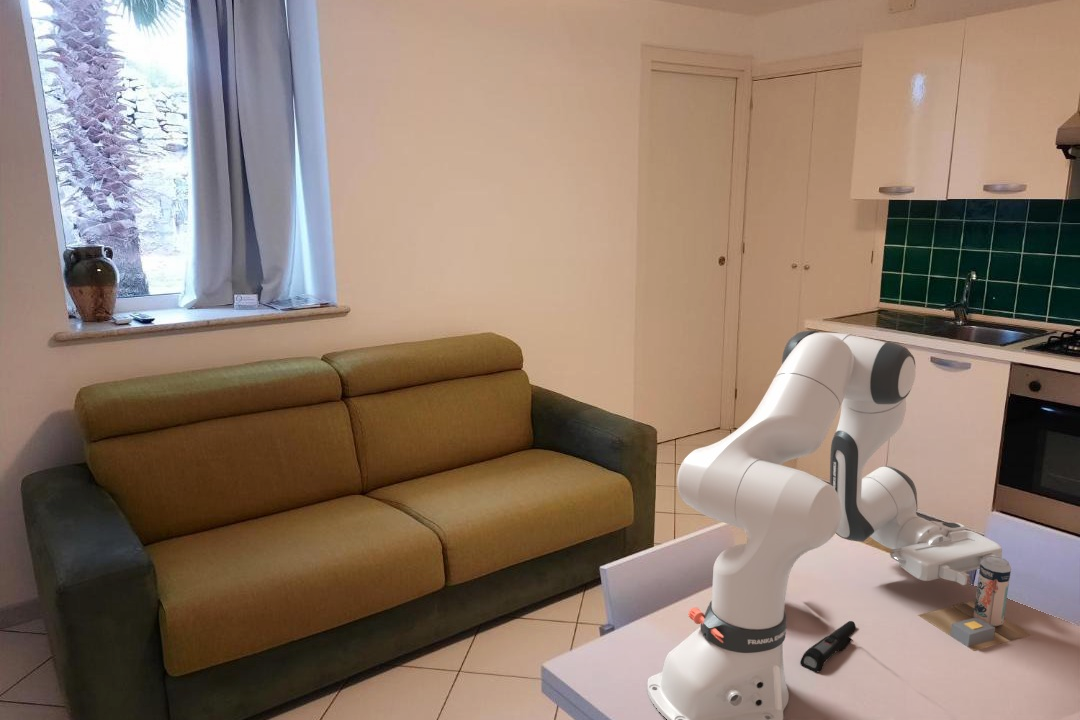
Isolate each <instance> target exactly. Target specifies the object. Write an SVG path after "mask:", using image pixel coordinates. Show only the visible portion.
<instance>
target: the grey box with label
mask: <svg viewBox="0 0 1080 720" xmlns="http://www.w3.org/2000/svg"><path fill="white" fill-rule="evenodd" d="M994 633H995V627H993V626H991V625H990V624H988V623H986V622H985V621H983V620H981V619H980V618H978V617H976V618H972V619H968V620H964V621H960V622H956V623H953V624H952V627H951V635H950V636H949V637H951V638H953V639H954V638H955V640H956V641H957V640H958V641H957V642H959V643H960V642H961V645H963V646H965V645H966V646H965V647H967V648H968V647H970V646H973V645H977V644H981V643H984V642H988V641H991V640H994Z"/></svg>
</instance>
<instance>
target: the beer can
mask: <svg viewBox="0 0 1080 720" xmlns="http://www.w3.org/2000/svg"><path fill="white" fill-rule="evenodd" d="M978 570H979V572H978V580H977V586H976V594H975V607H974V614H973V616H974V618H976V617H978V618H980V619H981V620H983V621H985V622H986V623H988V624H990V625H991V626H999V625H1002V624H1003V623H1004V619H1005V615H1006V614H1005V613H1006V606H1007V599H1008V593H1009V586H1010V579H1011V578H1010V577H1011V571H1012V567H1011V565H1010V562H1009V561H1008V560H1007V559H1006V558H1003V557H1002V558H1000V557H997V556H985V558H984V559H983V560H982V561H981V562H980V569H978Z"/></svg>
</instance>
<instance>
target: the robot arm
mask: <svg viewBox="0 0 1080 720" xmlns="http://www.w3.org/2000/svg"><path fill="white" fill-rule="evenodd" d="M783 349H784V350H783V354H782V356H781V357H782V359H781V366H780V368H779V369H778V370H777V372H776V374H775V376H774V377H773V379H772V382H771V383H770V385H769V387H768V389H767V390H766V392H765V394H764V396H762V397H763V398H762V399H761V400H760V403H759V404H758V406H757V407H756V408H755V410H754V412H753V413H752V414H751V415H750V417H749V418H748V419H747V420H746V421H745V422H744V423H743V424H742V425H741V426H740V427H738V428H737V429H736V430H734V431H733V432H732V433H730V434H729V435H727V436H726V437H725V438H724V437H723V438H722V439H721V440H719V441H717V442H715V443H712V444H710V445H707V446H706V445H705V446H703V447H699V448H696V449H694V450H692V451H691V452H690V453H688V455H686V457H685V458H684V459H683V460H682V462H681V464H680V466H679V468H678V471H677V477H676V478H677V479H676V486H677V491H678V495H679V498H680V499H681V501H682V502H683V503H684V504H686V505H687V506H689V507H690V508H692V509H693V510H695V511H696V512H698V513H700V514H702V515H703V516H706V517H707V518H711V519H712V520H715V521H719V522H722V523H724V524H727V525H729V526H733V527H736V528H738V529H741V530H743V531H745V533H746V536H747V537H746V543H741V544H737V545H733V546H731V547H727V548H726V549H724V550H723V551H722V552H720V553H719V555H718V556H717V558H716V559H715V561H714V564H713V570H712V571H713V572H712V588H711V589H712V590H711V591H712V592H711V600H710V602H709V604H708V605H707V608H706V610H705V613H704V612H702V611H701V610H700V608H698V607H696V606H695V607H692V608H690V610H689V611H688V618H689V619H691V621H693V622H694V624H696V625H700V626H699V627H698V628H697V629H695V631H693V632H692V633H690V635H689V636H687V637H686V638H685V639H684V640H683V641H681V642H680V643H679V644H677V645H676V646H675V647H674V648H673V649H672V650H670V651H669V652H668V653H667V655H666V657H665V659H664V662H663V667H662V671H660V672H658V673H656V674H654V675H651V676H650V677H648V679H647V685H646V689H647V690H648V691H647V694H648V697H649V700H650V701H651V703H652V705H653V704H654V705H653V706H654V708H655V709H656V708H657V709H656V710H657V712H658V713H659V712H660V713H661V714H662V715H663V716H664V717H665V718H666V719H667V720H784V710H785V709H786V707H787V705H788V703H789V699H790V696H789V695H790V694H789V689H788V686H787V682H786V676H785V668H784V655H783V654H784V653H783V645H784V642H785V639H786V633H787V632H786V631H787V614H786V611H785V607H786V605H785V604H786V603H785V602H786V598H787V597H786V596H787V590H788V589H787V588H788V582H789V578H790V573H791V571H792V569H793V566H794V565H795V564H796V562H797V561H798V560H799V559H800V558H801V557H802V556H803V555H804V554H807V553H808V552H810V551H813V550H815V549H818V548H820V547H822V546H824V545H825V544H827V543H828V542H829V541H830V540H831V539H833V537H834V535H835V534H836V535H837V536H839V537H840V538H842V539H844V540H848V541H851V542H865V541H866V540H867V539H868V538H871V539H873V541H876V543H879V544H880V545H882V546H884V547H885V548H888V549H890V550H891V551H890V553H889V556H890V558H891V559H892V560H894V561H895V562H897V563H899V566H900V567H901V568H902V569H904V571H906V572H907V573H909V575H911V576H913V578H915V579H917V580H919V581H920V580H921V581H924V582H928V581H929V582H930V581H934V580H937V579H938V580H939V579H943V580H945V581H951V582H954V583H955V582H956V583H958V584H960V585H961V586H966V585H970V584H971V583H972V581H971V580H972V576H971V574H969V573H968V572H972V571H976V570H980V562H981V561H982V560H983V559H984V558H985V556H997V557H1000V558H1003V548H1002V547H1001V545H1000V544H999V543H997V542H996V541H994V540H992V539H990V538H988V537H986V536H984V535H982V534H980V533H977V532H975V531H972V530H968V529H967V530H966V526H965V525H963V524H961V523H960V522H940V521H936V520H928V519H925V518H924V517H922V516H918V515H917V511H918V493H917V491H918V490H917V487H916V485H915V482H914V481H913V480H912V478H911V477H910V476H908V475H907V474H906V473H904V472H903V471H901V470H899V469H897V468H895V467H893V466H890V465H889V466H888V465H881V466H880V467H878V468H876V469H875V470H873V471H871V472H870V473H868V474H867V475H865V476H863V472H864V469H865V467H866V465H867V464H868V462H869V460H870V459H871V458H872V457H873V456H874V455H875V453H877V451H878V450H879V449H880V448H881V447H882V446H883V445H884V444H886V443H887V442H888V441H889V440H890V439H892V437H893V436H894V435H895V434H897V432H898V431H899V430H900V429H901V427H902V425H903V423H904V421H905V420H904V419H905V415H906V410H907V402H906V398H907V397H908V396H909V394H910V392H911V391H912V389H913V385H914V383H915V380H916V379H915V378H916V360H915V357H914V355H913V354H912V352H911V351H910V350H909V349H908V347H905V346H903V345H901V344H899V343H895V342H892V341H887V342H885V341H881V340H876V339H872V338H870V337H869V338H868V337H864V336H857V335H854V334H851V333H850V334H849V333H842V332H840V333H839V332H820V331H819V330H804V331H800V332H797V333H795V335H793V336H792V337H790V339H789V340H787V343H786V345H785V346H784V348H783ZM839 410H840V414H839V415H840V416H839V420H838V424H837V428H836V430H835V433H834V435H833V438H832V440H831V444H830V445H831V446H830V455H829V456H830V457H829V459H830V461H829V463H830V464H829V483H828V482H826V481H825V480H823V479H820V478H818V477H816V476H815V475H812V474H810V473H808V472H807V471H804V470H800V469H796V468H794V467H793V468H792V467H789V466H786V465H783V464H784V463H786V462H788V461H790V460H795V459H800V458H804V457H807V456H809V455H811V454H814V452H816V451H817V450H819V449H820V447H821V446H822V445H823V443H824V442H825V439H826V436H828V433H829V431H830V429H831V427H832V425H833V423H834V421H835V419H836V416H837V414H838V413H839ZM660 713H659V714H660ZM661 714H660V715H661ZM662 715H661V716H662ZM663 716H662V717H663ZM664 717H663V718H664ZM665 718H664V719H665ZM666 719H665V720H666Z"/></svg>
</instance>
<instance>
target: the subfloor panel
mask: <svg viewBox="0 0 1080 720" xmlns="http://www.w3.org/2000/svg"><path fill="white" fill-rule="evenodd" d="M974 607H975V601H974V600H972V601H968V602H967V601H966V602H960V603H956V604H952V605H951V606H947V607H944V608H941V609H940V608H939V609H937V610H932V611H929V612H924V613H921V614H917V616H919V617H920V618H921V619H923V620H924V621H926V622H928V623H929V624H931V625H932V626H934V627H936V628H938V629H939V630H940V631H942V632H943V633H944V634H946V635H948V636H949V637H951V636H950V635H951V627H952V624H953V623H956V622H960V621H964V620H968V619H972V618H974V616H973V614H974ZM993 627H995V633H994V640H991V641H988V642H984V643H981V644H977V645H973V646H970V647H967V646H966V645H964V646H965V647H967V648H968V649H970V650H972V651H973V652H977V651H980V650H983V649H987V648H990V647H995V646H998V645H1001V644H1004V643H1009V642H1011V641H1015V640H1018V639H1022V638H1026V637H1030V636H1033V633H1031V632H1029V631H1027V630H1025V629H1024V628H1022V627H1020V626H1018V625H1017V624H1015V623H1013V622H1011V621H1010V620H1008V619H1007V618H1004V623H1003V624H1002V625H999V626H993ZM953 639H955V638H953ZM955 640H956V639H955ZM956 641H957V642H959V641H958V640H956ZM959 643H961V642H959ZM961 644H962V643H961Z"/></svg>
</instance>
